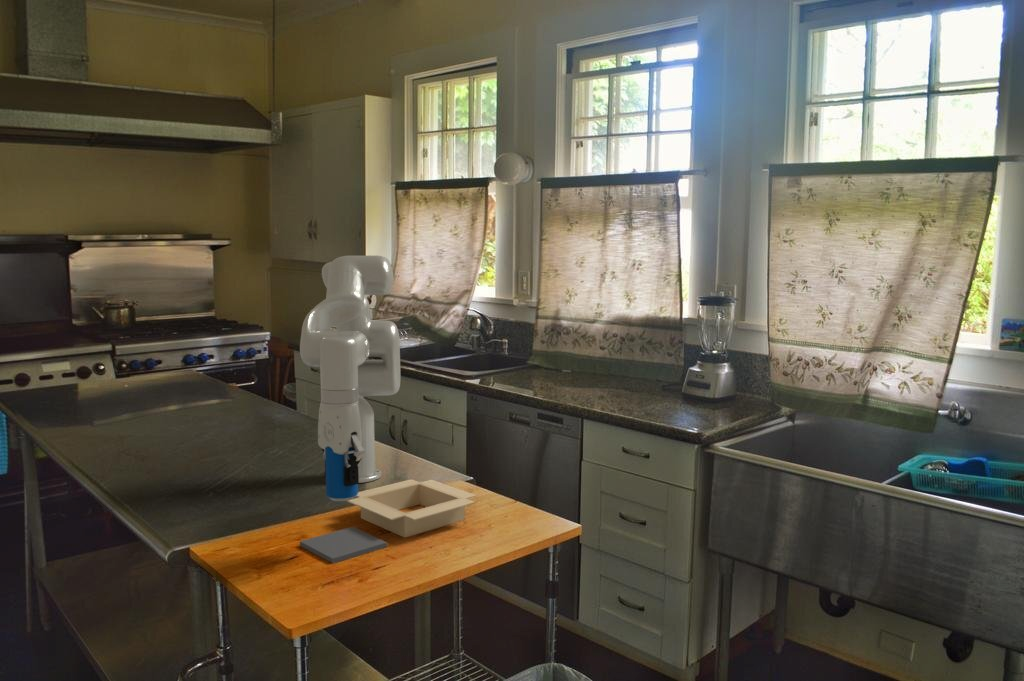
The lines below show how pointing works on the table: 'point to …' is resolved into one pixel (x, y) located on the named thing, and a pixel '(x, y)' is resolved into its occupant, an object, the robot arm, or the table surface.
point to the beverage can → (337, 477)
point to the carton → (436, 496)
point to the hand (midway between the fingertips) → (341, 480)
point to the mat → (343, 544)
